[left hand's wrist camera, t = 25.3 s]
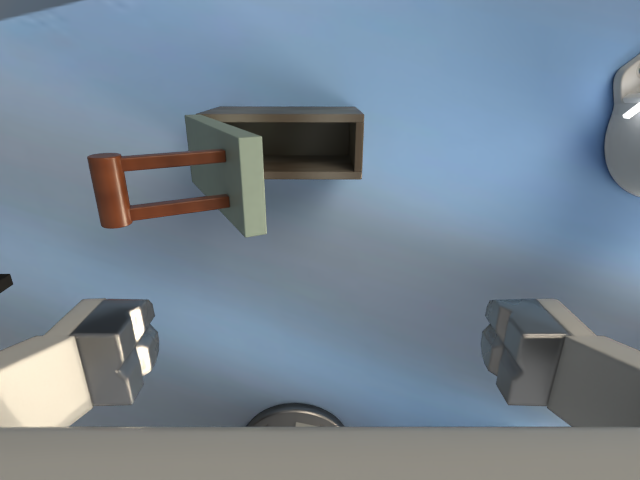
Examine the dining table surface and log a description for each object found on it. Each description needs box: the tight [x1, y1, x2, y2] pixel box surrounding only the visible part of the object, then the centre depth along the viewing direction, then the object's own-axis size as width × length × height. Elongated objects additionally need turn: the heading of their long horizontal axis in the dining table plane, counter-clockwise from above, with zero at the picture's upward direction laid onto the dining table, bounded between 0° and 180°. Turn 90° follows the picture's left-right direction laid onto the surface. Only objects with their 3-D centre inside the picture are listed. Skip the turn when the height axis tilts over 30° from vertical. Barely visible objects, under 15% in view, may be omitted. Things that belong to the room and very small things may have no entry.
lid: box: [87, 114, 267, 237], centre depth 27 cm, size 15×5×8 cm
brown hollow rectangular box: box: [196, 107, 364, 179], centre depth 39 cm, size 14×5×9 cm, turn 90°
